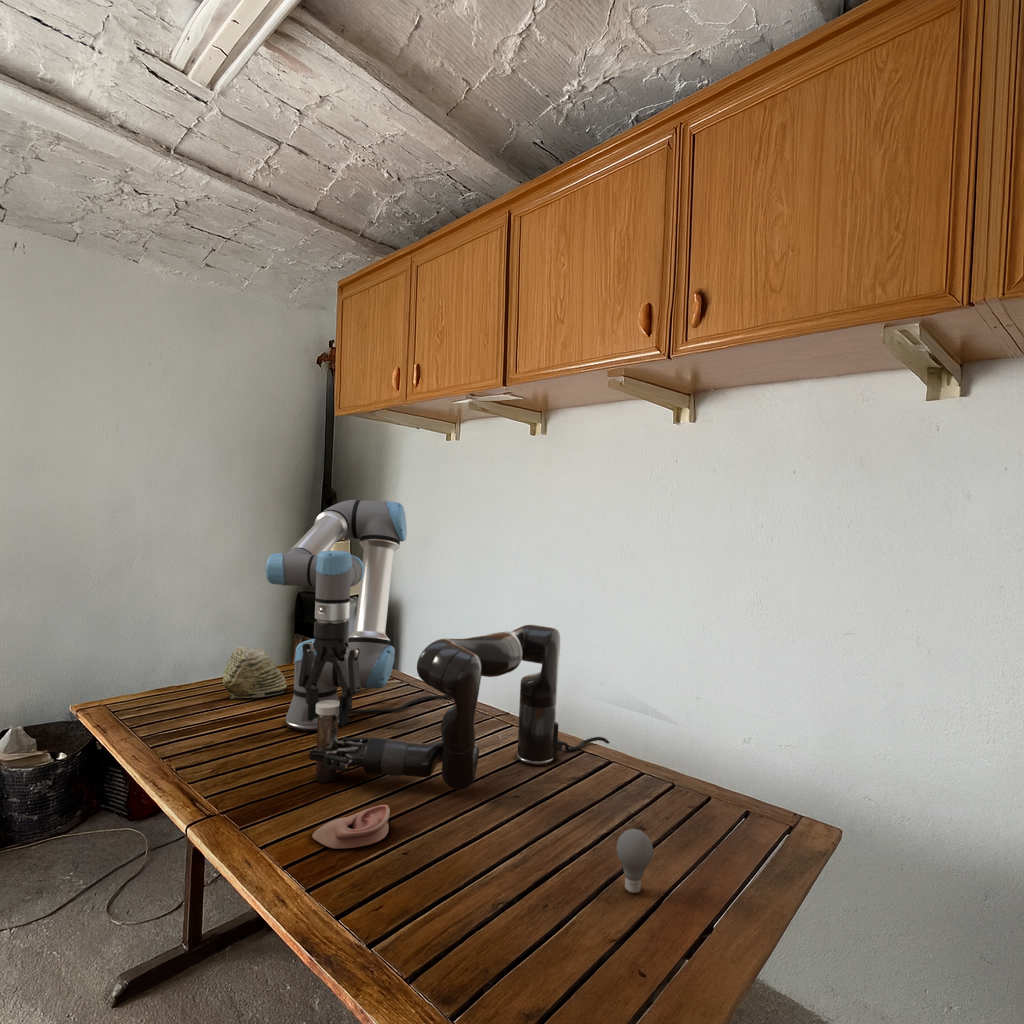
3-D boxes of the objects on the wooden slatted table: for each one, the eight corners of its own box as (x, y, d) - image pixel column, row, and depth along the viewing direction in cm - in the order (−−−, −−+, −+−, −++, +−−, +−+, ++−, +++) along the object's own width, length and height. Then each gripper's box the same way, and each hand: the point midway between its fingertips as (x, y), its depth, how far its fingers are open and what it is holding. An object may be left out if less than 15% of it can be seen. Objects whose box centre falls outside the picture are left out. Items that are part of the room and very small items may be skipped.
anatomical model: (304, 822, 115) (334, 794, 126) (303, 844, 115) (333, 813, 126) (372, 833, 112) (397, 803, 124) (371, 855, 113) (396, 823, 124)
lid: (329, 705, 146) (330, 698, 146) (346, 711, 143) (346, 703, 143) (310, 711, 142) (310, 704, 142) (326, 717, 139) (327, 709, 139)
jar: (311, 778, 142) (314, 707, 142) (328, 771, 146) (331, 702, 146) (323, 784, 140) (325, 712, 139) (340, 778, 143) (343, 707, 143)
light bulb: (610, 879, 108) (613, 822, 108) (644, 879, 109) (647, 822, 109) (619, 902, 102) (622, 840, 102) (655, 901, 103) (658, 840, 103)
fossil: (218, 695, 195) (220, 647, 195) (278, 685, 208) (279, 640, 207) (228, 703, 189) (230, 653, 188) (289, 692, 201) (290, 645, 201)
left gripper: (283, 618, 142) (279, 719, 142) (362, 627, 135) (358, 734, 136) (304, 613, 149) (300, 709, 149) (380, 621, 142) (376, 722, 143)
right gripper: (398, 728, 148) (328, 722, 150) (378, 752, 134) (301, 745, 136) (397, 760, 148) (327, 754, 150) (377, 787, 134) (300, 780, 136)
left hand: (328, 721), depth 142 cm, fingers open, 7 cm apart
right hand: (315, 750), depth 143 cm, fingers closed on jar, 4 cm apart
